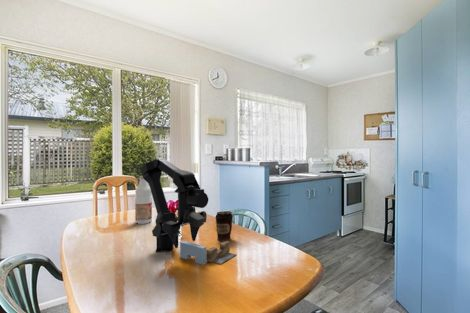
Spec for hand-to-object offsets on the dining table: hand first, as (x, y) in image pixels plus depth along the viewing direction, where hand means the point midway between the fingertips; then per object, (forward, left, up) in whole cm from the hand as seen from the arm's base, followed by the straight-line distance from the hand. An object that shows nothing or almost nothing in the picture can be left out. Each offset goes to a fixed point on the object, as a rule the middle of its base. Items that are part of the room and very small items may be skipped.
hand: (185, 244), depth 97 cm
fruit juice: (-26, +58, -5) cm, 64 cm away
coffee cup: (+18, +18, -5) cm, 26 cm away
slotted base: (+13, -2, -5) cm, 14 cm away
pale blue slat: (+3, -3, -5) cm, 7 cm away
